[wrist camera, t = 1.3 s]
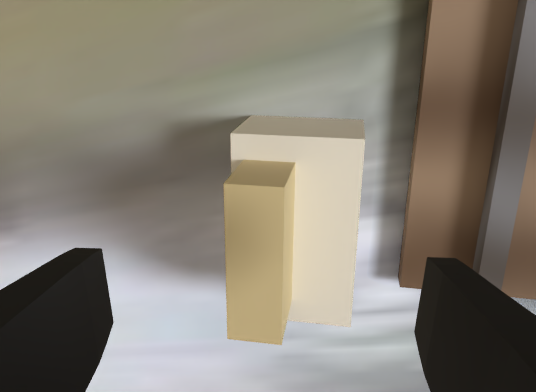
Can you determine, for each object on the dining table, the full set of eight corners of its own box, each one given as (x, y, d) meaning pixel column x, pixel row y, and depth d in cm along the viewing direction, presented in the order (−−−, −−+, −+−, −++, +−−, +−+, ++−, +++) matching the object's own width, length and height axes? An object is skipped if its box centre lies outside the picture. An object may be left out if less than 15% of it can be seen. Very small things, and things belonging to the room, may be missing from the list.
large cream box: (351, 279, 24) (349, 376, 17) (252, 270, 24) (215, 359, 18) (363, 119, 21) (366, 160, 14) (251, 115, 22) (207, 152, 15)
